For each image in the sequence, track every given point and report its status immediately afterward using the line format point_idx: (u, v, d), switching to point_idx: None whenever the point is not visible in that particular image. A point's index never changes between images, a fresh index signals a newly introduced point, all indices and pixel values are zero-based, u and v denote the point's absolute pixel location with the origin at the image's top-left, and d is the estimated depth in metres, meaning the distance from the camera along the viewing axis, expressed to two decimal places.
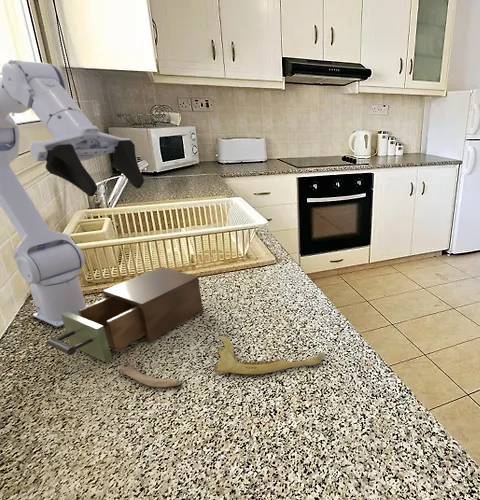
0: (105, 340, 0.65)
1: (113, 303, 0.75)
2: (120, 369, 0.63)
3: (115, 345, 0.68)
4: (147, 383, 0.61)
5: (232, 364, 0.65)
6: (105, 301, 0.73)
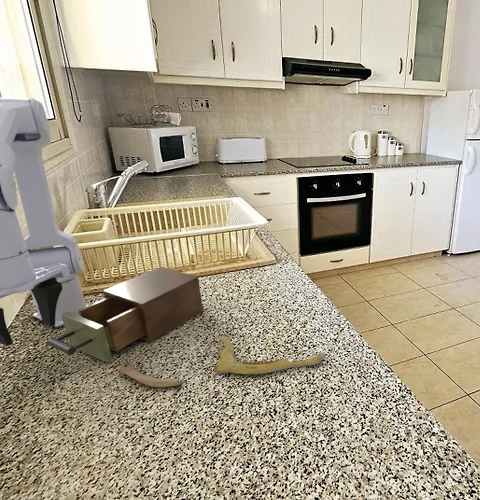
0: (105, 340, 0.65)
1: (113, 303, 0.75)
2: (120, 369, 0.63)
3: (115, 345, 0.68)
4: (147, 383, 0.61)
5: (232, 364, 0.65)
6: (105, 301, 0.73)
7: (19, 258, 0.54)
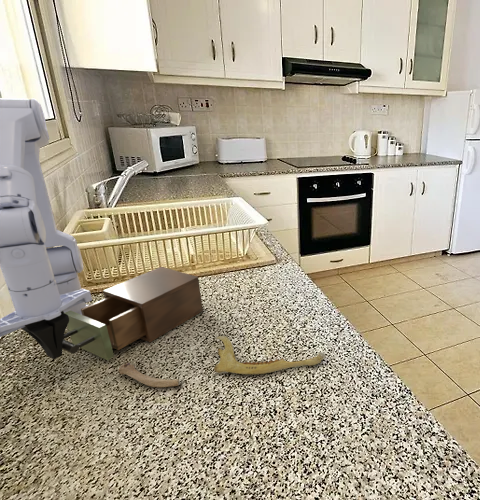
0: (107, 339, 0.65)
1: (115, 302, 0.75)
2: (120, 369, 0.63)
3: (117, 344, 0.68)
4: (147, 383, 0.61)
5: (232, 364, 0.65)
6: (107, 300, 0.73)
7: (48, 287, 0.58)
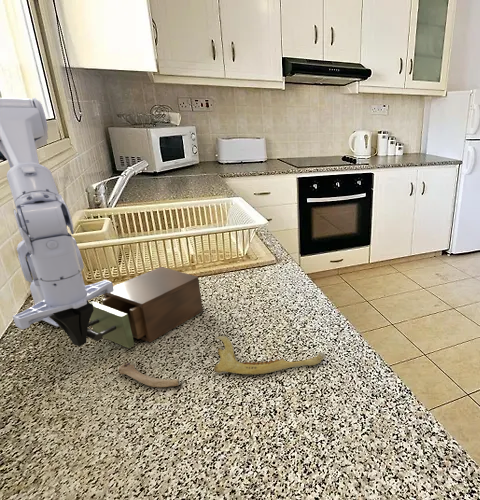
0: (129, 328, 0.69)
1: None
2: (120, 369, 0.63)
3: (137, 333, 0.71)
4: (147, 383, 0.61)
5: (232, 364, 0.65)
6: None
7: (75, 278, 0.61)
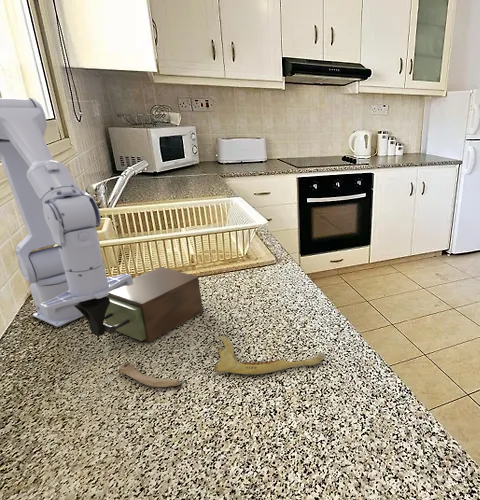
0: (141, 321, 0.71)
1: None
2: (120, 369, 0.63)
3: None
4: (147, 383, 0.61)
5: (232, 364, 0.65)
6: None
7: (99, 269, 0.64)
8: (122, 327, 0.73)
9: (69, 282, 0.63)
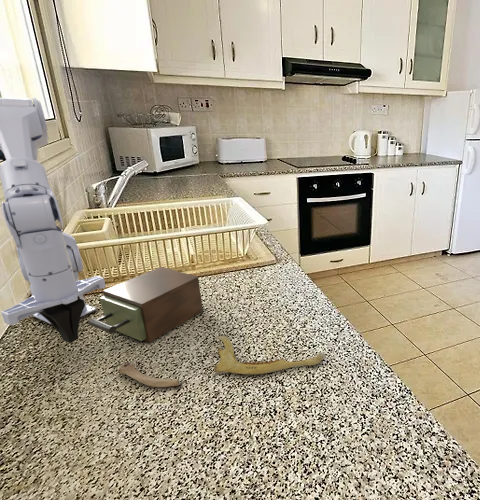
0: (141, 321, 0.71)
1: None
2: (120, 369, 0.63)
3: None
4: (147, 383, 0.61)
5: (232, 364, 0.65)
6: None
7: (65, 273, 0.60)
8: (122, 327, 0.73)
9: (33, 287, 0.59)
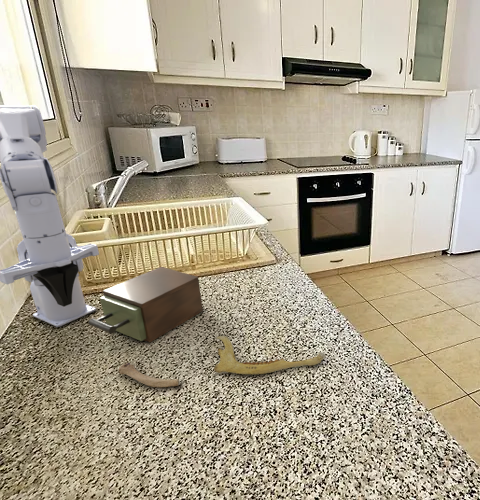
0: (141, 321, 0.71)
1: None
2: (120, 369, 0.63)
3: None
4: (147, 383, 0.61)
5: (232, 364, 0.65)
6: None
7: (59, 236, 0.62)
8: (122, 327, 0.73)
9: (28, 249, 0.61)
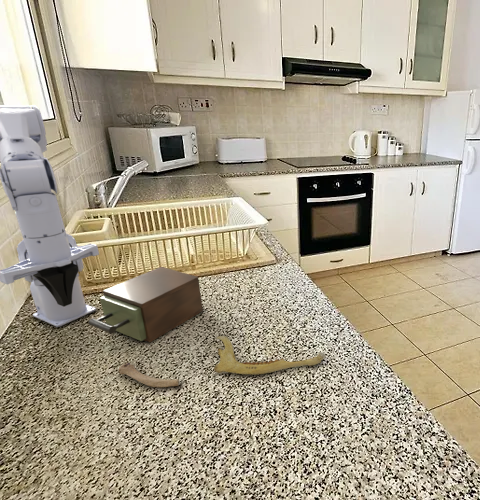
0: (141, 321, 0.71)
1: None
2: (120, 369, 0.63)
3: None
4: (147, 383, 0.61)
5: (232, 364, 0.65)
6: None
7: (59, 236, 0.62)
8: (122, 327, 0.73)
9: (28, 249, 0.61)
